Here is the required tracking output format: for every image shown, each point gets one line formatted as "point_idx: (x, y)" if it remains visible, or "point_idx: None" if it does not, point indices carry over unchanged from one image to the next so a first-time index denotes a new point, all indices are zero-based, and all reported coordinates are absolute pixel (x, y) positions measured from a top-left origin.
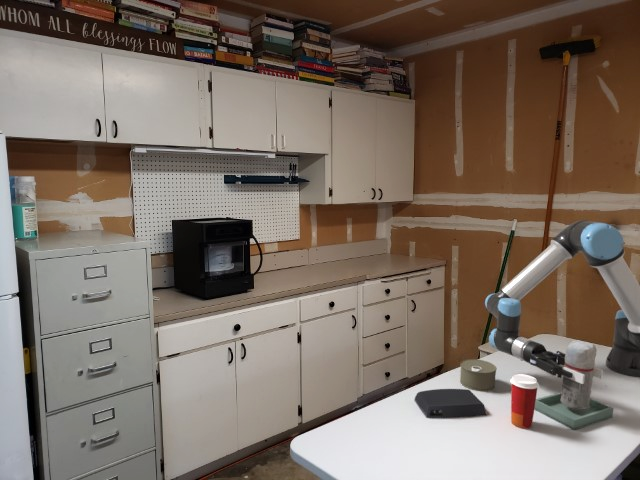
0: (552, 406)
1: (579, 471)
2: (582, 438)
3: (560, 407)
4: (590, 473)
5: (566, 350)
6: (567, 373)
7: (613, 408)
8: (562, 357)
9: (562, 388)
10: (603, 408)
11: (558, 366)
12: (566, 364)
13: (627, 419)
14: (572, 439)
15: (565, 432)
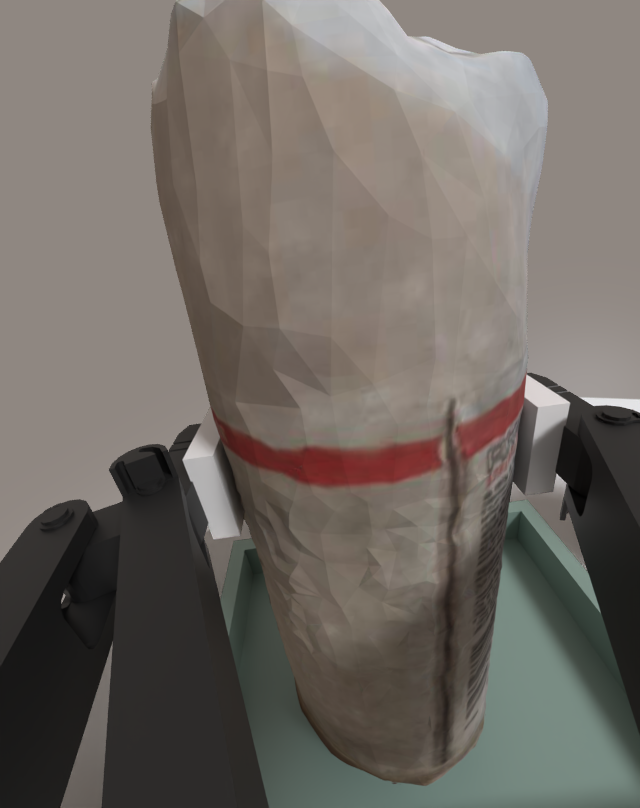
0: (546, 796)
1: (614, 403)
2: (514, 491)
3: (475, 747)
4: (584, 399)
5: (513, 188)
6: (552, 387)
7: (234, 542)
8: (201, 804)
9: (488, 645)
10: (245, 588)
11: (638, 431)
12: (526, 372)
13: (211, 546)
14: (564, 493)
15: (574, 531)
